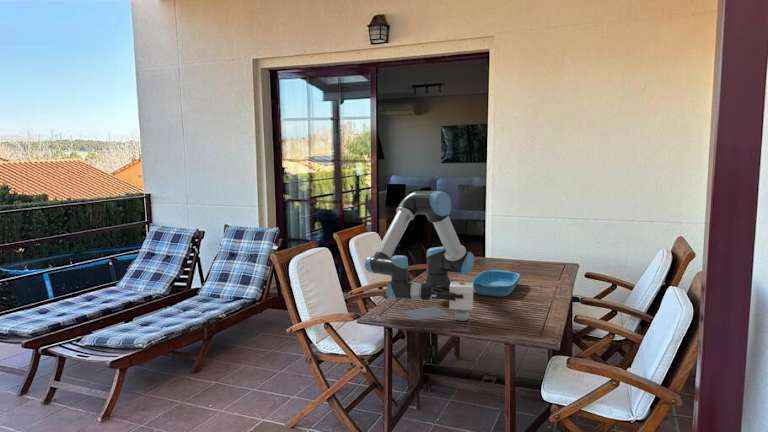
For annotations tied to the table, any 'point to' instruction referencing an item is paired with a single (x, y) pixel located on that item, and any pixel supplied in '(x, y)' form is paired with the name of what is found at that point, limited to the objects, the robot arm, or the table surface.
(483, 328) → the table surface
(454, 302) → the box cover
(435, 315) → the rubber mat
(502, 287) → the casserole dish
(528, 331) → the table surface
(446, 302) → the bread roll
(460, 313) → the bowl
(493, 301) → the table surface
